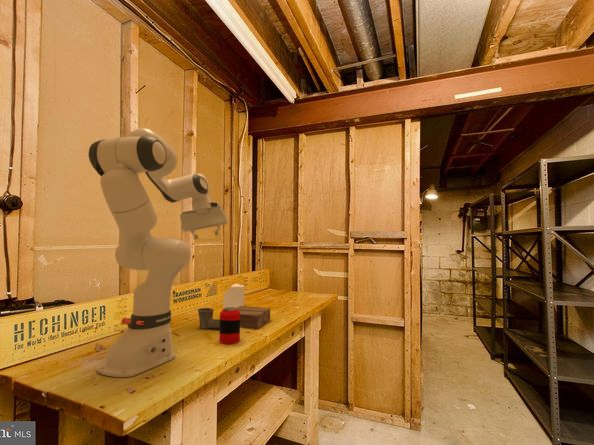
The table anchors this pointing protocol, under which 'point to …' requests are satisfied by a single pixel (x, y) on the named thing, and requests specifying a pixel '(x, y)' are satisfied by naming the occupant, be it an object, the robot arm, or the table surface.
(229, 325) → the soda can
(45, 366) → the table surface
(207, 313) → the pipe
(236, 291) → the corner bracket
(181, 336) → the table surface
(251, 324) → the walnut block
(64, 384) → the table surface
